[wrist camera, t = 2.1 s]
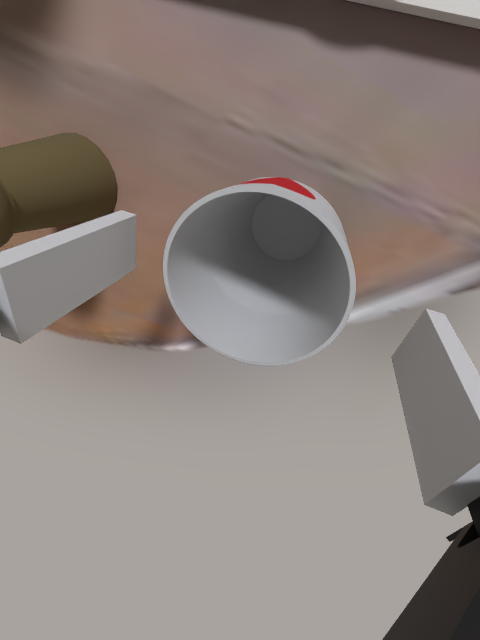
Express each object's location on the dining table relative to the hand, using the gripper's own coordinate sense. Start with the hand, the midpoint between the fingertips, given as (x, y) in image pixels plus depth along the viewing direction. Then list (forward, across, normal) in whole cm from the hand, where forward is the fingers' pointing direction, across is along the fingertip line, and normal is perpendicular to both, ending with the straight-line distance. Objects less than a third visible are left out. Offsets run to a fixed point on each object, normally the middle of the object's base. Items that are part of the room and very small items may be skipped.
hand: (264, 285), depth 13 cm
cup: (+9, 0, 0) cm, 9 cm away
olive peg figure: (+9, -16, -1) cm, 19 cm away
